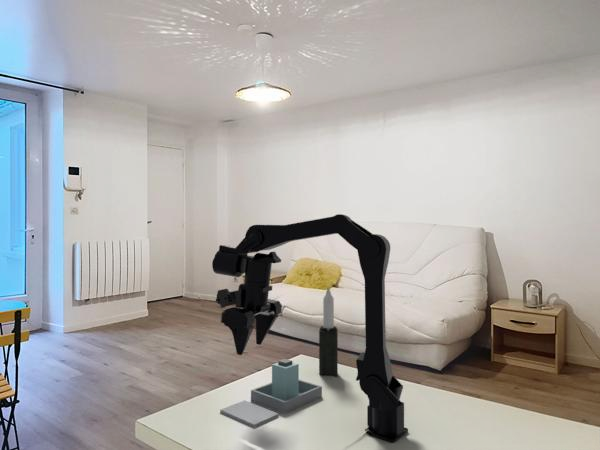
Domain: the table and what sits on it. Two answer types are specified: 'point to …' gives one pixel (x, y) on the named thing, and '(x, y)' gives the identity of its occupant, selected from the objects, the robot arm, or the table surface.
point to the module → (285, 379)
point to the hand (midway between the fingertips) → (249, 349)
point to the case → (305, 396)
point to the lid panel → (249, 413)
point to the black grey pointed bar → (328, 339)
